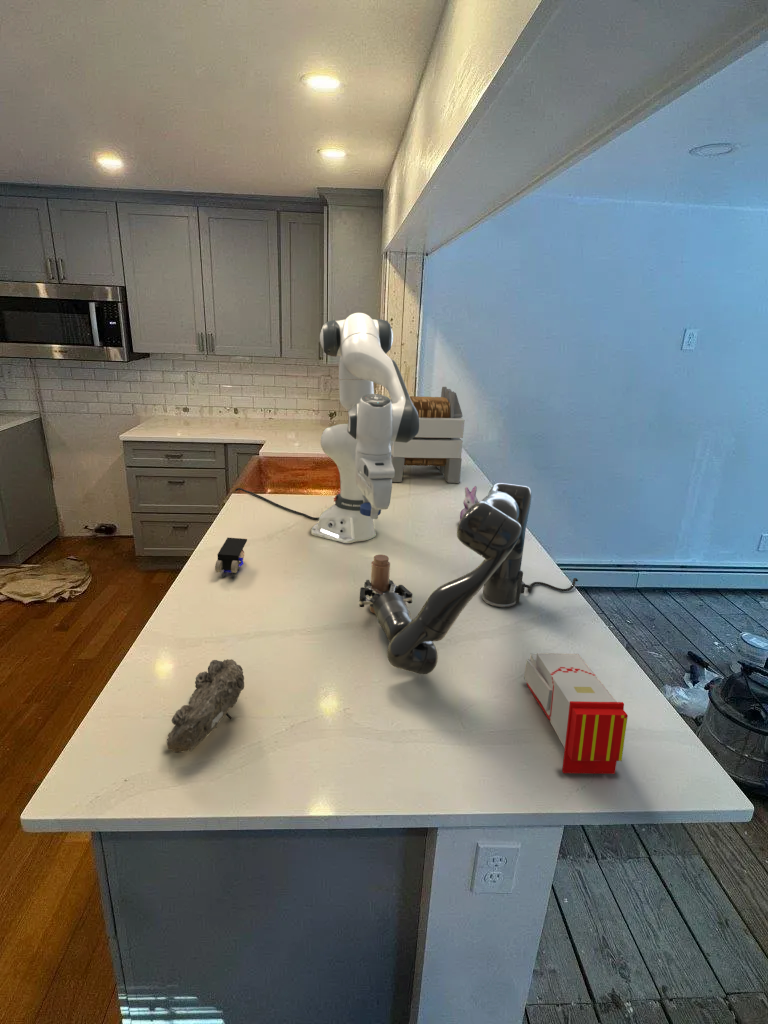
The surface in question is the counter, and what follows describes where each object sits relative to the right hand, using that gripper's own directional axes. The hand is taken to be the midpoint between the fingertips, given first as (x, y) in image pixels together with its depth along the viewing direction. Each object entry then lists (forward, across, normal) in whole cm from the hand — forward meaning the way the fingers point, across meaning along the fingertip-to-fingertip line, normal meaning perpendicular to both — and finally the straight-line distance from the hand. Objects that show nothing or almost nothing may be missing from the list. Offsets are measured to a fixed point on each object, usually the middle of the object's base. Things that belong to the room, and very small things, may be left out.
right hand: (377, 582), depth 149 cm
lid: (+3, +2, -20) cm, 20 cm away
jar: (-3, 0, +7) cm, 7 cm away
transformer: (+123, -49, +6) cm, 132 cm away
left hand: (+3, +2, -18) cm, 19 cm away
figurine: (+52, -47, +7) cm, 71 cm away
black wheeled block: (+27, +38, +7) cm, 47 cm away
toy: (-51, -26, +7) cm, 58 cm away
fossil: (-37, +41, +7) cm, 56 cm away
